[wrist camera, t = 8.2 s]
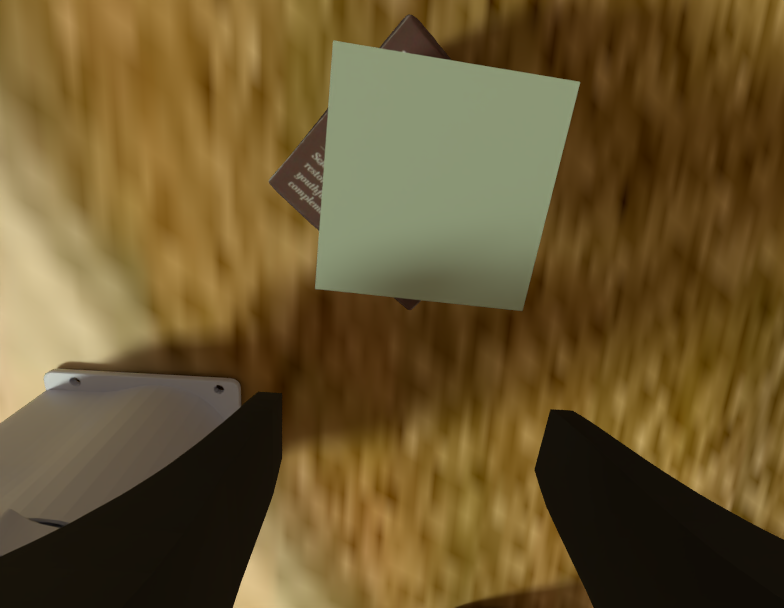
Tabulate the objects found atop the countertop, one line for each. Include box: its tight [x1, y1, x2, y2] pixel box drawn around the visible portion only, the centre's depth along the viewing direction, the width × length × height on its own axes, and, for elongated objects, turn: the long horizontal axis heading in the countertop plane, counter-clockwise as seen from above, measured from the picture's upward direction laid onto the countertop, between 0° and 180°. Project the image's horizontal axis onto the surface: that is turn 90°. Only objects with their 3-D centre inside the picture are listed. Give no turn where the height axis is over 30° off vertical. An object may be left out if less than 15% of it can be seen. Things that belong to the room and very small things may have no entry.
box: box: [269, 15, 451, 310], centre depth 15 cm, size 6×6×7 cm
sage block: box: [315, 41, 580, 311], centre depth 9 cm, size 4×4×5 cm
